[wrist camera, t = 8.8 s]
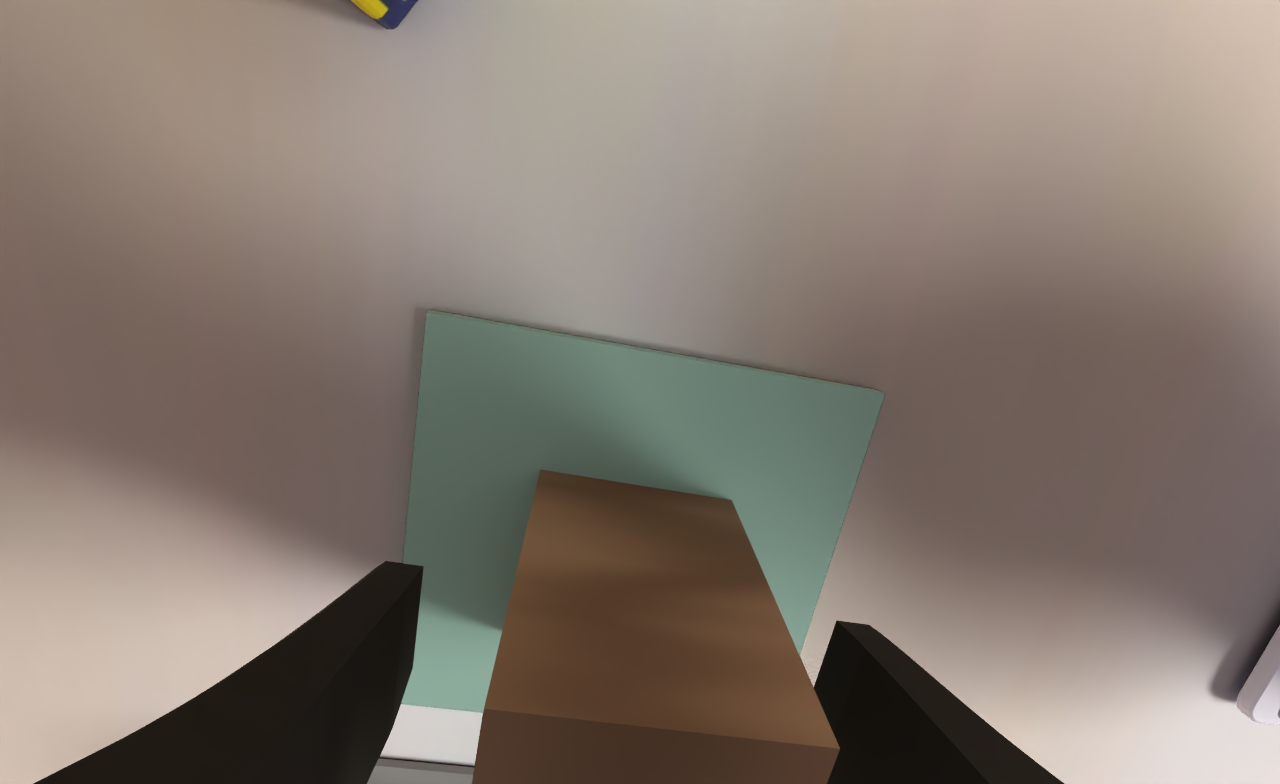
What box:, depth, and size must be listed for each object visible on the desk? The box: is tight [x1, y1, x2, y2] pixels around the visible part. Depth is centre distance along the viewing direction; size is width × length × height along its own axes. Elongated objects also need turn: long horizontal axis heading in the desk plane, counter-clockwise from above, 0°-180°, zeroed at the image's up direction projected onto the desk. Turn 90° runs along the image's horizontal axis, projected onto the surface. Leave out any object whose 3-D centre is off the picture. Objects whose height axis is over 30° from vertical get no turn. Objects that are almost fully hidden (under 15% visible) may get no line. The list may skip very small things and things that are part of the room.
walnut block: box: [472, 469, 840, 784], centre depth 10 cm, size 4×4×6 cm
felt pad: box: [401, 310, 885, 713], centre depth 13 cm, size 9×9×1 cm
